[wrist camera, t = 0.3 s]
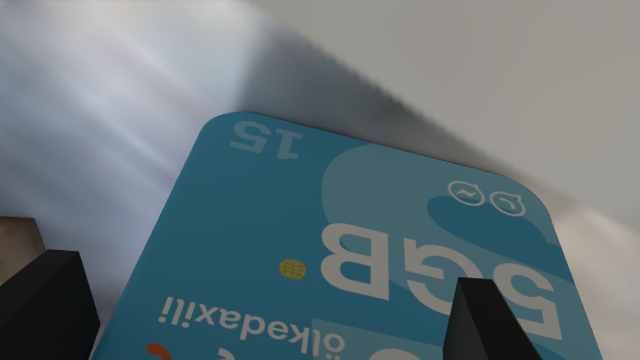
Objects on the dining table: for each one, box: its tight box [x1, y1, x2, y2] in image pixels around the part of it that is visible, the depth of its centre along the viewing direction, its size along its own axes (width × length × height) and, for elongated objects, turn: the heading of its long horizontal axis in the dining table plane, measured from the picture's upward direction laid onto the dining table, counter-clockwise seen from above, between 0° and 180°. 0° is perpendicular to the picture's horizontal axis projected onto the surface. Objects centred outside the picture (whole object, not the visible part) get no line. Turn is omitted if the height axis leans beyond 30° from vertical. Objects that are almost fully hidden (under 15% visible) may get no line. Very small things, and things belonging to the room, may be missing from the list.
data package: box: [91, 112, 603, 360], centre depth 17 cm, size 12×4×12 cm, turn 76°
